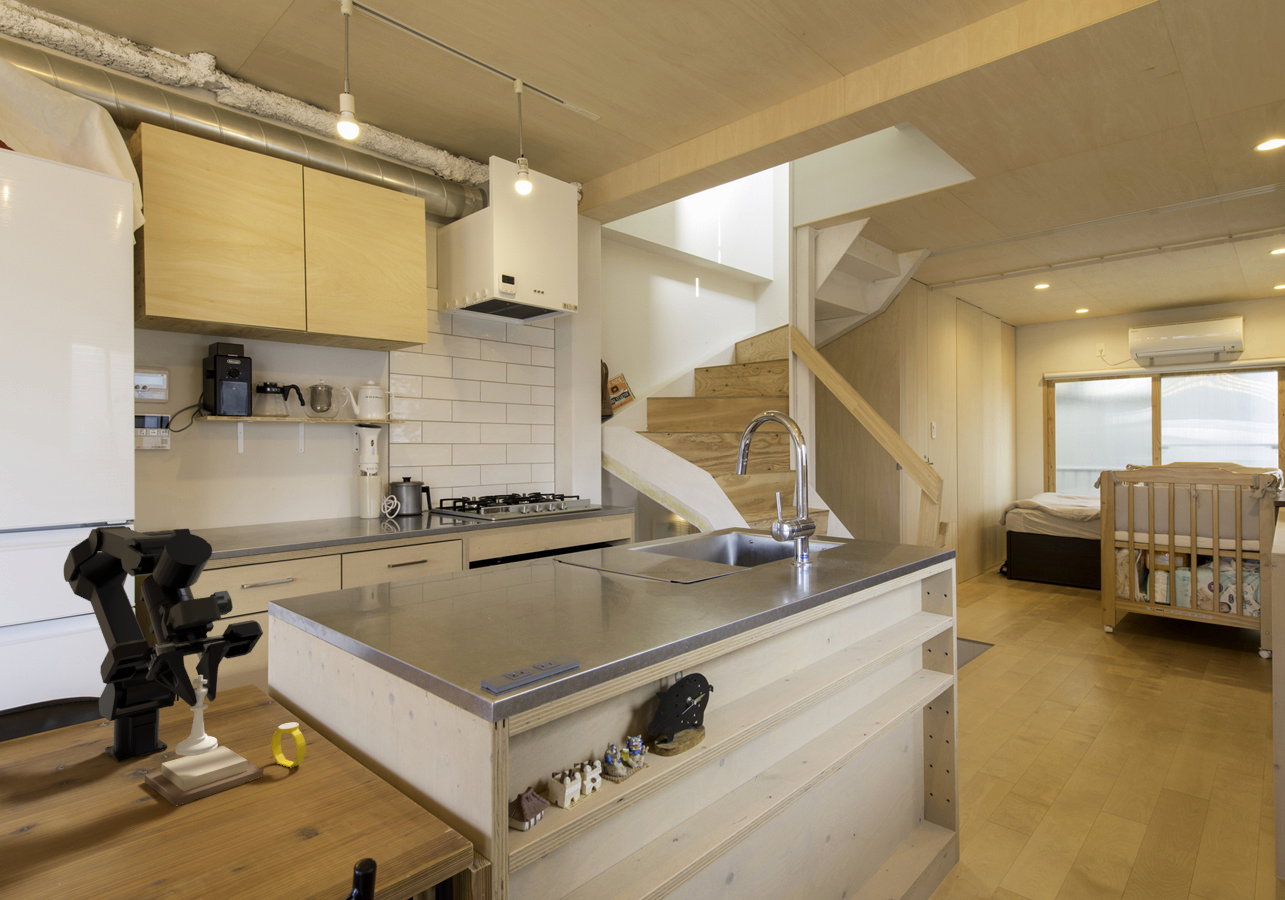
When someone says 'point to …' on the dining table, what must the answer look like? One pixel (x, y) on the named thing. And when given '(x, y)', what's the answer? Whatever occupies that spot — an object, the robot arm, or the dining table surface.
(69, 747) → the dining table surface
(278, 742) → the watch
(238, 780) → the build base
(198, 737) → the chess piece
